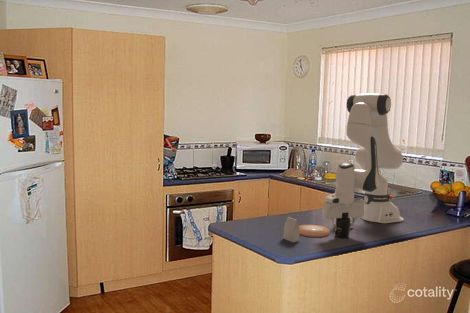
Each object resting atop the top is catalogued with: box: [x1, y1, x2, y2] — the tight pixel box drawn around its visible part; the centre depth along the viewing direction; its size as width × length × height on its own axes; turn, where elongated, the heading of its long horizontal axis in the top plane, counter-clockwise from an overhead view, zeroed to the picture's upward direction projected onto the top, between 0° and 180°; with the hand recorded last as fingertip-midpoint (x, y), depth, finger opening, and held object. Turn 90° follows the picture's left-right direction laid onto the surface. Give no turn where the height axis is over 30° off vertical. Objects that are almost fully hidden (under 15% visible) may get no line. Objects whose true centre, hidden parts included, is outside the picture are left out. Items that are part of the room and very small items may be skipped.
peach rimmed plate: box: [299, 224, 331, 238], centre depth 240 cm, size 16×16×2 cm
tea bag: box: [283, 216, 301, 243], centre depth 226 cm, size 4×7×10 cm, turn 33°
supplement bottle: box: [334, 213, 352, 239], centre depth 234 cm, size 7×7×12 cm
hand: (342, 226), depth 234 cm, fingers open, 8 cm apart
